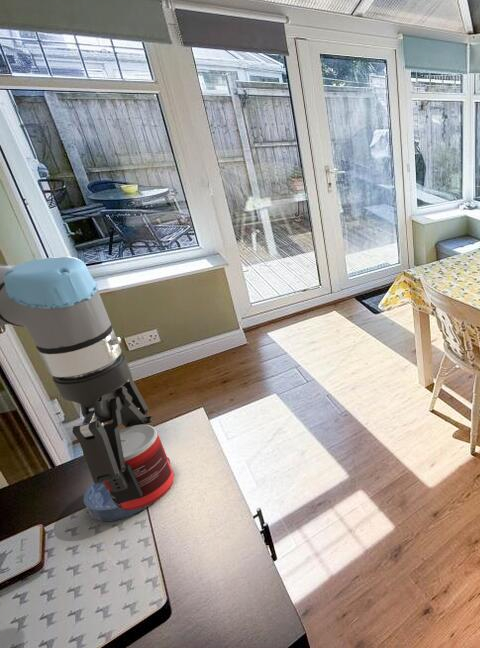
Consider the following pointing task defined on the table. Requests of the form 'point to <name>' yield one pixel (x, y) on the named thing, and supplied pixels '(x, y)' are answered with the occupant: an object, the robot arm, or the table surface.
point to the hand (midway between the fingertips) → (139, 476)
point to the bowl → (106, 503)
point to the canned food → (144, 465)
